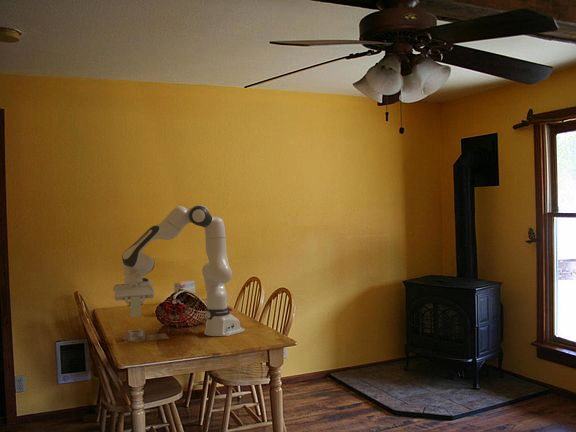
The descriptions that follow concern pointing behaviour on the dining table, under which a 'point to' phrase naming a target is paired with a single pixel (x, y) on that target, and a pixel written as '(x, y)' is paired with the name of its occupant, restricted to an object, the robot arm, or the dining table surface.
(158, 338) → the end cap board
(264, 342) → the dining table surface
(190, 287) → the cracker box
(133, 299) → the slat
